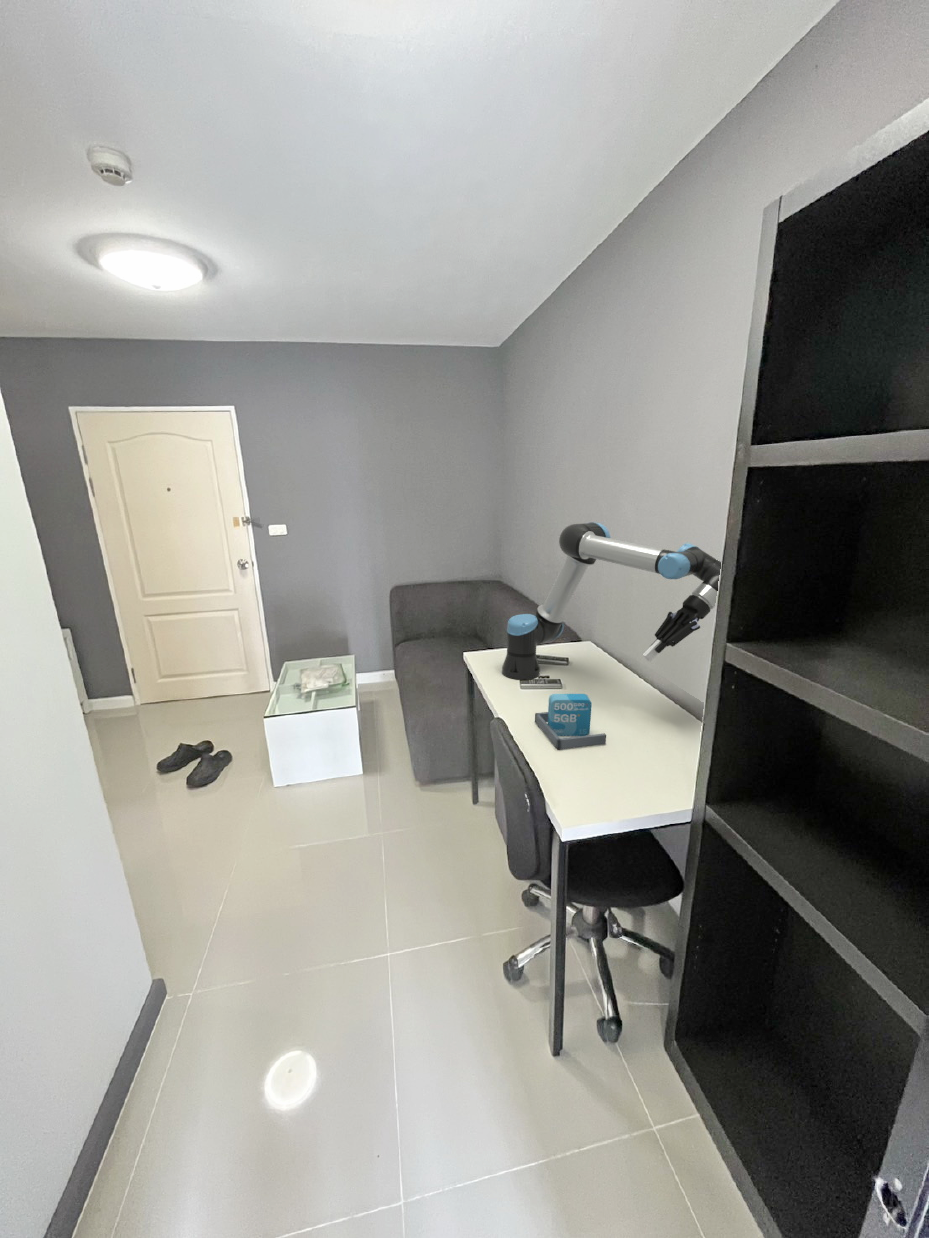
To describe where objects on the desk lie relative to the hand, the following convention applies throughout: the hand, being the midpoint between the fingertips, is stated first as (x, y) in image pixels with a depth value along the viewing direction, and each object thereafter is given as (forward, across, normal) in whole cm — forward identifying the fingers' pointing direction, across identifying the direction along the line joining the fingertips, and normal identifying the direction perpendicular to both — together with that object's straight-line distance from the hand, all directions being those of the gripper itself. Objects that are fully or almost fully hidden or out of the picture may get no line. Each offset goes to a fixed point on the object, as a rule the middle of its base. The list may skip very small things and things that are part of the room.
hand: (646, 658), depth 148 cm
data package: (+33, 0, +2) cm, 33 cm away
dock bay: (+33, 0, +1) cm, 33 cm away
